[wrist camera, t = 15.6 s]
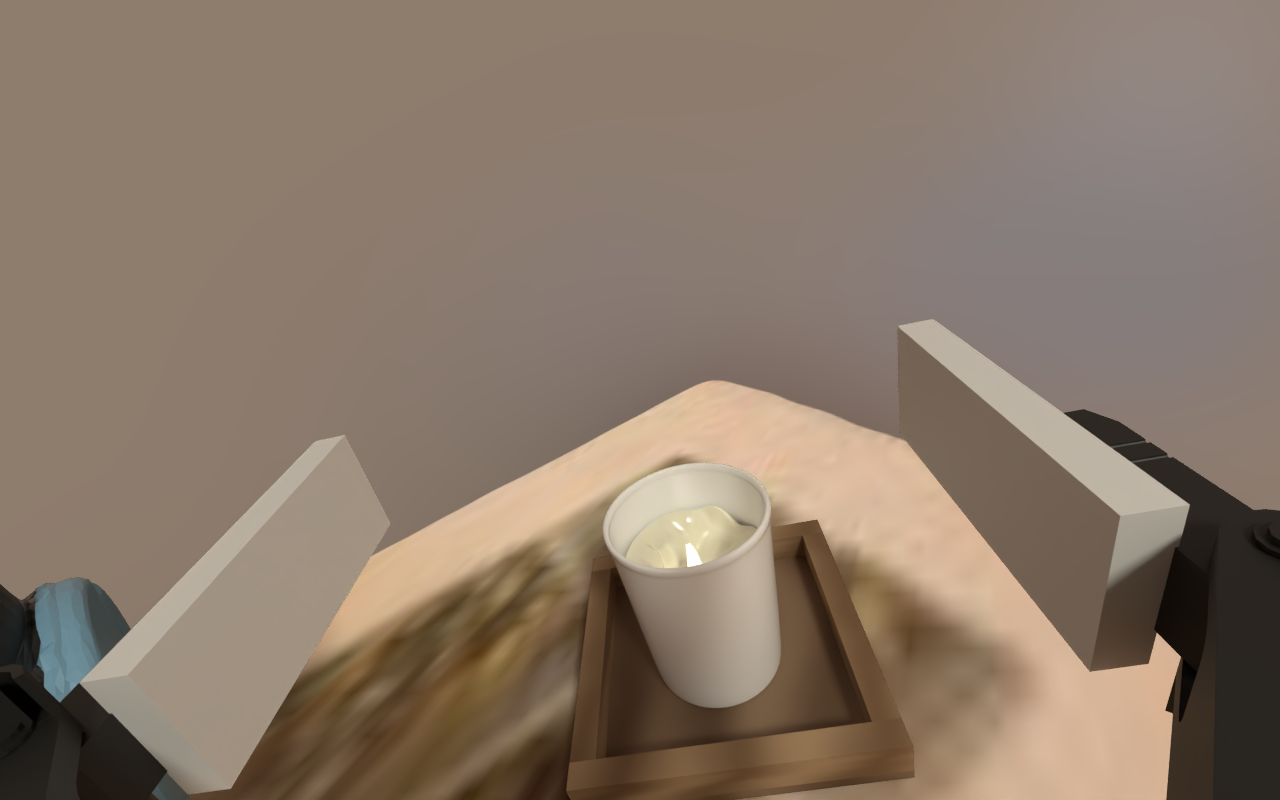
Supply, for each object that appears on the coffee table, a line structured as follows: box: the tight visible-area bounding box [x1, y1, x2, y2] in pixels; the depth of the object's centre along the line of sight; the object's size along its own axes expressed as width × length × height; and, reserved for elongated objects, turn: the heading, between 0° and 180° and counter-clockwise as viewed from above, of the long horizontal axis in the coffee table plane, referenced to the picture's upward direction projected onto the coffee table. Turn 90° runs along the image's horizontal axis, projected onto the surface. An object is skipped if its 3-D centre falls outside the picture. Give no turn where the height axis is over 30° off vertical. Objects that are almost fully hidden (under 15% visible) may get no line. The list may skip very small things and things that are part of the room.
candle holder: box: [603, 463, 781, 708], centre depth 36 cm, size 10×10×12 cm
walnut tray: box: [566, 520, 914, 800], centre depth 38 cm, size 18×18×3 cm
